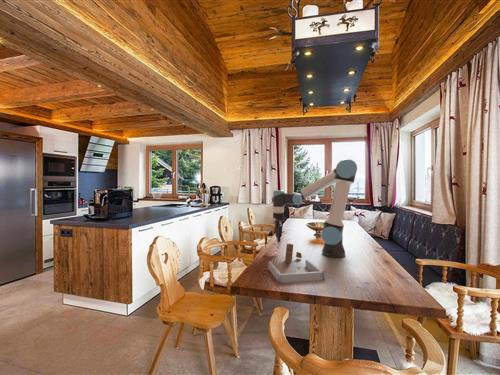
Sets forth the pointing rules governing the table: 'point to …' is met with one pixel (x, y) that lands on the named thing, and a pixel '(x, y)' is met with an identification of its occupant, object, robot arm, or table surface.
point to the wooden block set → (290, 253)
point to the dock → (298, 274)
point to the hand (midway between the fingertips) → (278, 246)
